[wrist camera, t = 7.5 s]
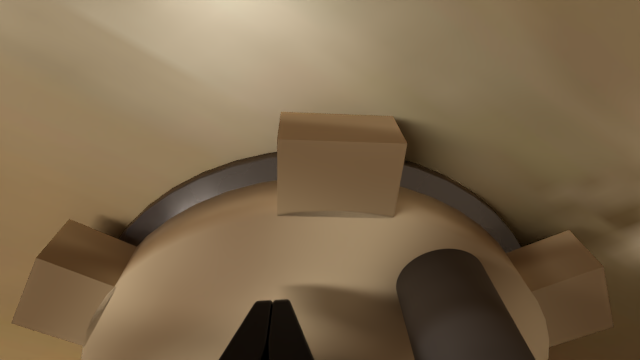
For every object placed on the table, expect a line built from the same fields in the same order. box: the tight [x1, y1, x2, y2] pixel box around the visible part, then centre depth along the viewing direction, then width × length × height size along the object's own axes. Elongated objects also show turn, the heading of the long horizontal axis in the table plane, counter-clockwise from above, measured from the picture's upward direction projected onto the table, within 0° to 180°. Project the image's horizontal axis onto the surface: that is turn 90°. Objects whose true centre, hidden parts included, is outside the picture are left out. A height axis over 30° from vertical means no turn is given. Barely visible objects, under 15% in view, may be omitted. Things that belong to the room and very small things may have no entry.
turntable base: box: [119, 152, 521, 253], centre depth 15 cm, size 16×16×1 cm
